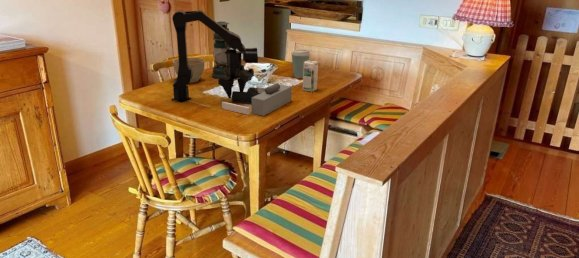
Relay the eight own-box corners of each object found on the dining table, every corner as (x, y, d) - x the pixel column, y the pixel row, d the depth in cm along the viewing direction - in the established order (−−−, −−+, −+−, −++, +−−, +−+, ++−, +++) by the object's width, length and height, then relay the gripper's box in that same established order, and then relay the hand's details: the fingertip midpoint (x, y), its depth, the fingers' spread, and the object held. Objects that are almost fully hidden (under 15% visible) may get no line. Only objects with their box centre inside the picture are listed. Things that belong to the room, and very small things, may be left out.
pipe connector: (238, 85, 204) (269, 87, 202) (238, 95, 206) (269, 98, 204) (231, 92, 193) (263, 95, 191) (231, 103, 195) (263, 106, 193)
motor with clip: (260, 117, 178) (260, 94, 175) (221, 108, 187) (221, 86, 184) (293, 99, 202) (294, 79, 198) (258, 92, 211) (258, 72, 207)
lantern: (205, 73, 241) (203, 19, 230) (229, 70, 248) (227, 17, 237) (219, 81, 226) (217, 24, 214) (244, 78, 233) (243, 22, 222)
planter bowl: (207, 77, 234) (206, 57, 230) (202, 85, 219) (201, 64, 215) (177, 76, 234) (176, 56, 229) (171, 84, 219) (169, 63, 214)
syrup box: (302, 90, 216) (303, 62, 211) (307, 87, 221) (308, 59, 216) (312, 92, 214) (313, 63, 208) (317, 89, 219) (318, 61, 213)
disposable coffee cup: (287, 78, 237) (288, 51, 231) (293, 73, 246) (294, 47, 240) (306, 80, 234) (307, 52, 228) (311, 75, 243) (312, 49, 238)
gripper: (237, 69, 183) (238, 104, 189) (261, 61, 198) (261, 93, 204) (216, 66, 188) (218, 99, 194) (241, 58, 203) (242, 89, 209)
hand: (235, 95), depth 200 cm, fingers open, 9 cm apart
